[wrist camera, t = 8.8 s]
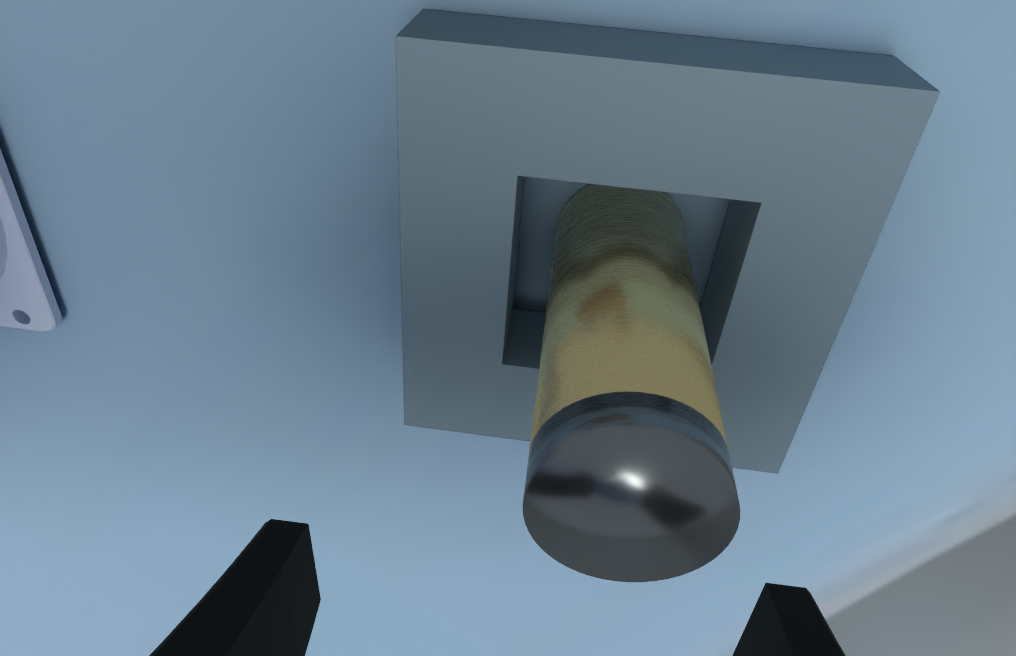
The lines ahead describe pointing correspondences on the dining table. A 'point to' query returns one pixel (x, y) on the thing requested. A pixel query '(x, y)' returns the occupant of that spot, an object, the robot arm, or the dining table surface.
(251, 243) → the dining table surface
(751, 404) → the block
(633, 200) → the spice jar
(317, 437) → the dining table surface
